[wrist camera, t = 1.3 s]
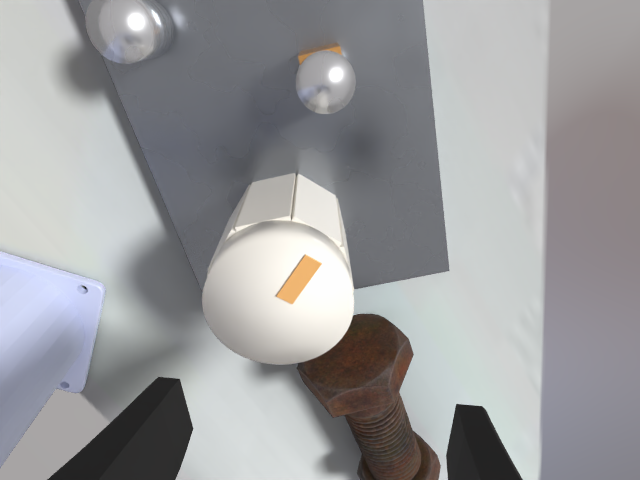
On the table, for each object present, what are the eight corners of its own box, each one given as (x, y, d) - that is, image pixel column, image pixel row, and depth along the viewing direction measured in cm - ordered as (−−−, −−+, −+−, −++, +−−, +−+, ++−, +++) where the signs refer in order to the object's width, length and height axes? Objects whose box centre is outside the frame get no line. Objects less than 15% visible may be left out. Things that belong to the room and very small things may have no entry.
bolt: (393, 457, 31) (331, 304, 24) (463, 477, 29) (415, 312, 22) (363, 540, 27) (278, 386, 20) (441, 573, 25) (374, 408, 18)
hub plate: (443, 260, 21) (465, 301, 18) (216, 304, 22) (200, 350, 19) (401, -144, 14) (426, -191, 11) (70, -50, 15) (7, -69, 12)
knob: (306, 291, 21) (303, 385, 16) (214, 244, 20) (176, 328, 14) (364, 212, 19) (384, 288, 14) (266, 154, 18) (246, 212, 12)
